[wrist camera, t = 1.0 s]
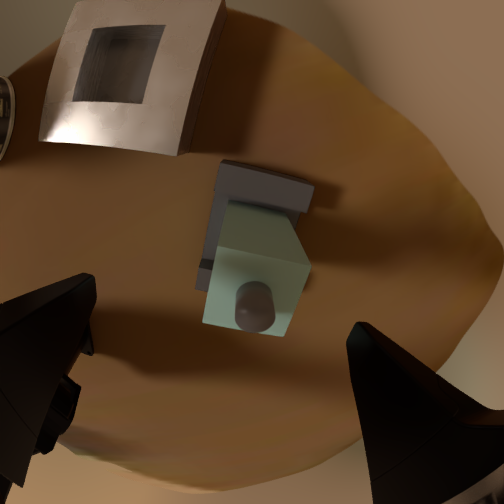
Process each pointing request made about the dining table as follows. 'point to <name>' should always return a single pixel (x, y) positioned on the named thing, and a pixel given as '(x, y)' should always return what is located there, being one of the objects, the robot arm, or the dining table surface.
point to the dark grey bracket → (254, 193)
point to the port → (132, 73)
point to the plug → (256, 271)
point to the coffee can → (6, 113)
